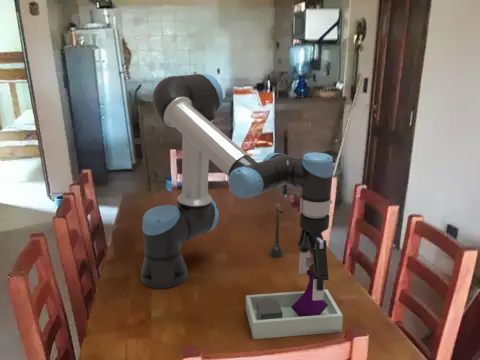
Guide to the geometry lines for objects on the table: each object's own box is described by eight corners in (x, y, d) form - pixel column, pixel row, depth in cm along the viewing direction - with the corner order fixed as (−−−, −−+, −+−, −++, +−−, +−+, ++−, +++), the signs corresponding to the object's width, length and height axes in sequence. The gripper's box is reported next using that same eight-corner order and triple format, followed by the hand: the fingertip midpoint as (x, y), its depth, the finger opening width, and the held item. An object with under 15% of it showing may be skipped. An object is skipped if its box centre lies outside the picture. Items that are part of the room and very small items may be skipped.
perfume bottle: (304, 305, 127) (307, 249, 122) (327, 314, 123) (331, 256, 117) (290, 317, 122) (292, 258, 116) (314, 327, 117) (317, 267, 112)
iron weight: (260, 327, 118) (260, 314, 116) (256, 313, 123) (256, 301, 122) (282, 325, 118) (282, 312, 117) (277, 312, 124) (277, 299, 123)
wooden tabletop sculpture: (285, 258, 157) (287, 206, 151) (273, 260, 156) (274, 207, 150) (280, 251, 163) (281, 200, 157) (268, 252, 162) (269, 201, 156)
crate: (252, 339, 114) (253, 322, 113) (245, 310, 127) (245, 295, 125) (341, 331, 117) (342, 315, 116) (326, 304, 130) (327, 289, 128)
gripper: (346, 232, 102) (339, 311, 108) (315, 196, 125) (310, 262, 132) (314, 234, 101) (309, 313, 107) (289, 197, 124) (286, 264, 131)
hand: (310, 285), depth 120 cm, fingers open, 13 cm apart
